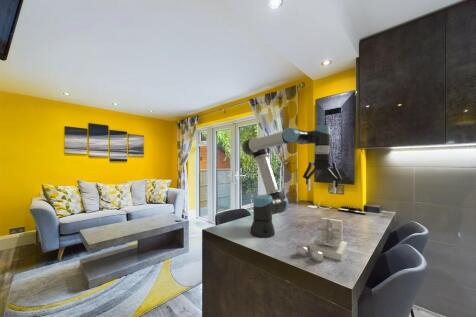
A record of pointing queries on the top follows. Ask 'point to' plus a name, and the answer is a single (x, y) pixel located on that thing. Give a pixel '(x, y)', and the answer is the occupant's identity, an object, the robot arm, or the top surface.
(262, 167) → the robot arm
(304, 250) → the cylinder
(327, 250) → the scale base
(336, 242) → the pan
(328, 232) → the cream toy jack
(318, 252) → the cylinder
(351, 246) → the top surface
